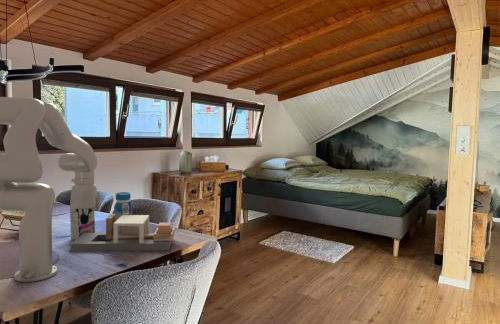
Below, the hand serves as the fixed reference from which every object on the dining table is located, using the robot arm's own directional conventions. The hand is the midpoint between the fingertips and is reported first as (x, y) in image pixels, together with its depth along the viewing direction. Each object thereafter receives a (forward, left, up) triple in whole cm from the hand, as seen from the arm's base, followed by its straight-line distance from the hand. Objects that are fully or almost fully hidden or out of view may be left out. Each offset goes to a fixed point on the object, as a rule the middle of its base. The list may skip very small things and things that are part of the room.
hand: (84, 223), depth 150 cm
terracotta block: (0, -34, -5) cm, 34 cm away
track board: (0, -17, -10) cm, 19 cm away
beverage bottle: (+17, -12, -10) cm, 23 cm away
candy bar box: (+12, +5, -10) cm, 17 cm away
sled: (0, -24, -6) cm, 25 cm away
